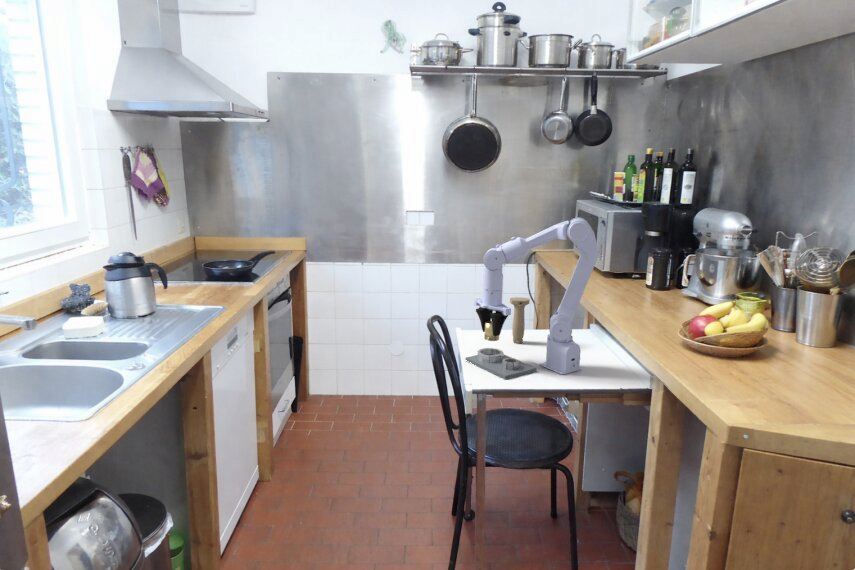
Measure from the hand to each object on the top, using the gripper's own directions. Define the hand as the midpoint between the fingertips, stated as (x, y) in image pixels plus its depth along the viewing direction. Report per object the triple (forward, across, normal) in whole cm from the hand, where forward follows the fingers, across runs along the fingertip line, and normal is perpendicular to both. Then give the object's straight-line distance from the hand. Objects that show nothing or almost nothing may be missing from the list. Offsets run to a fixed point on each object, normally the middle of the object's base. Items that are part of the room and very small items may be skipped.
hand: (491, 333), depth 170 cm
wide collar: (+9, 0, 0) cm, 9 cm away
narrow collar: (+9, +9, 0) cm, 13 cm away
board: (+9, +4, 0) cm, 10 cm away
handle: (+9, -10, +20) cm, 24 cm away
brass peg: (+2, 0, 0) cm, 2 cm away
